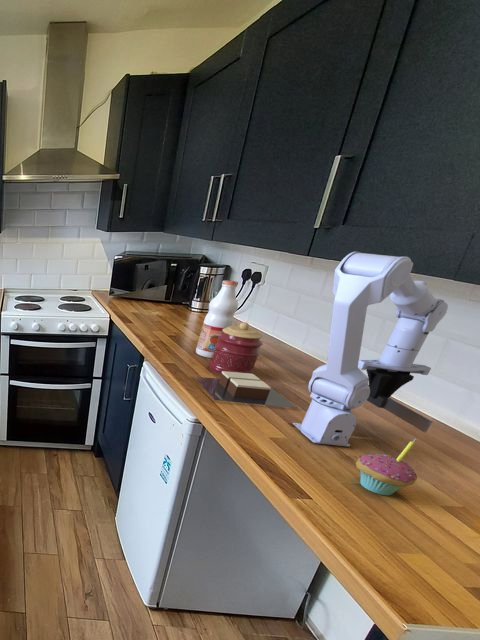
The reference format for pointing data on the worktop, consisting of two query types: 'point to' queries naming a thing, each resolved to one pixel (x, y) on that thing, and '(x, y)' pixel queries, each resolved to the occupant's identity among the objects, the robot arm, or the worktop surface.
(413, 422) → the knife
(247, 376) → the cake back half
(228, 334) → the kitchen canister
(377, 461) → the cupcake
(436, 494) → the worktop surface
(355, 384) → the robot arm
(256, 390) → the cake front half
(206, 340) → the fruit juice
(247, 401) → the cake board
